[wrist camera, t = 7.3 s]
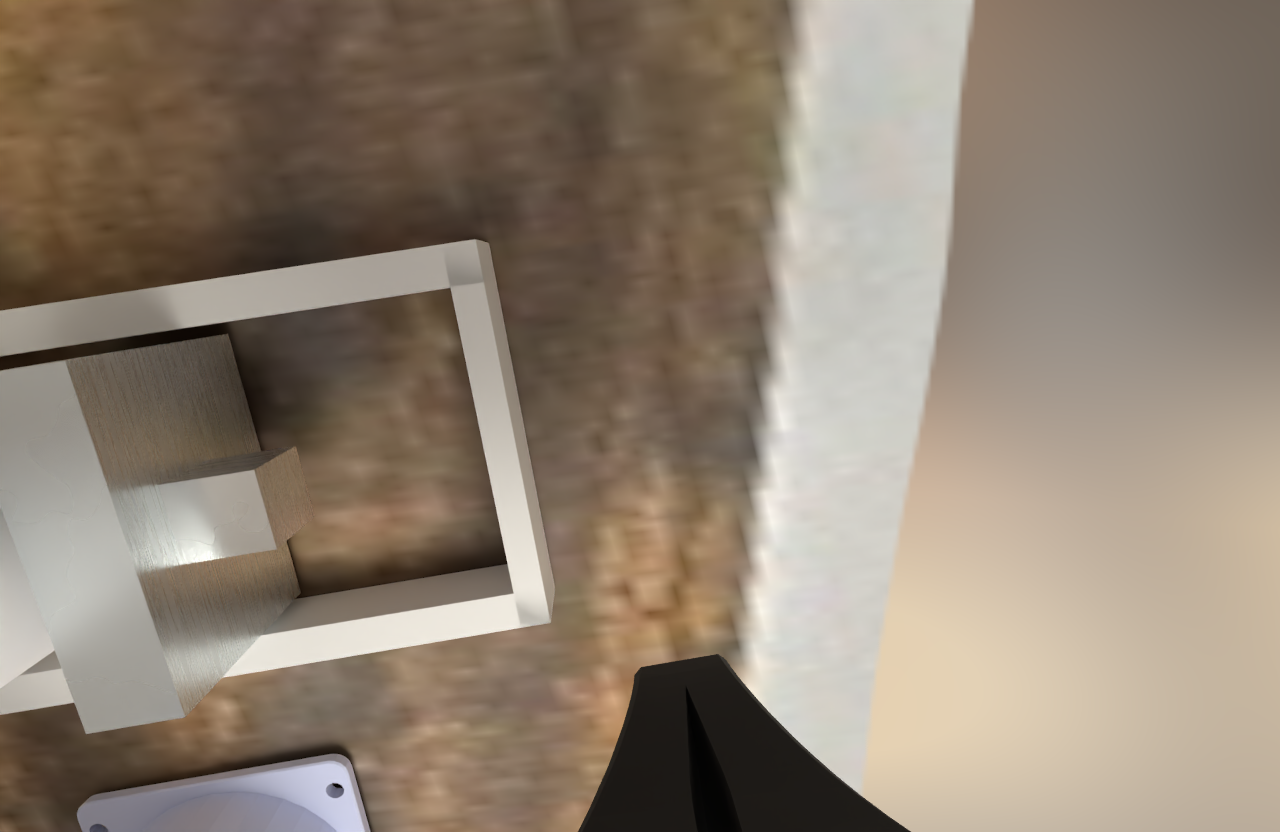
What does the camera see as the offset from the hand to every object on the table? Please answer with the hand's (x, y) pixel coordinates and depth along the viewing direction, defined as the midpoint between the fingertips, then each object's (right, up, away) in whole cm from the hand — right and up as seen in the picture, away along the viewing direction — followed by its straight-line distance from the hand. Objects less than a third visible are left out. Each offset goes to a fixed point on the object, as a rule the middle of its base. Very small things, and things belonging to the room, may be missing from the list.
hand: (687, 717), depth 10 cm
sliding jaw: (-11, +3, +8) cm, 14 cm away
